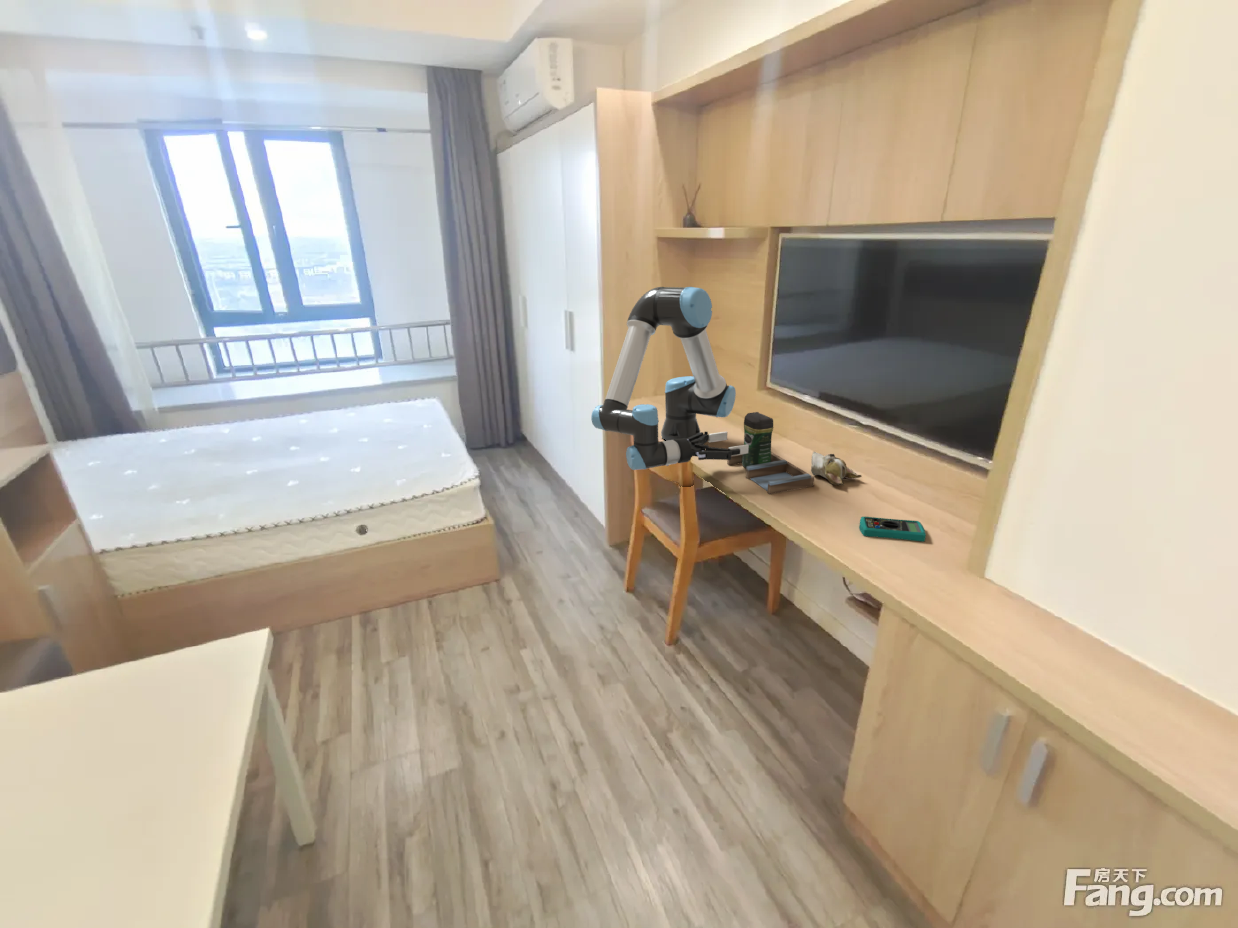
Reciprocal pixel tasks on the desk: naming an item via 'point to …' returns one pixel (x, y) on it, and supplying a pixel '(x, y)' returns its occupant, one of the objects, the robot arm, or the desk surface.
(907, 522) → the digital multimeter
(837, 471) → the ceramic sculpture
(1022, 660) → the desk surface
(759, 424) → the coffee jar
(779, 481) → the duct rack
